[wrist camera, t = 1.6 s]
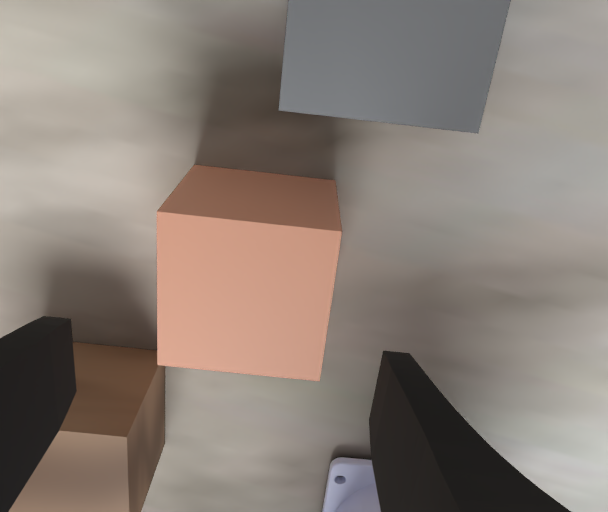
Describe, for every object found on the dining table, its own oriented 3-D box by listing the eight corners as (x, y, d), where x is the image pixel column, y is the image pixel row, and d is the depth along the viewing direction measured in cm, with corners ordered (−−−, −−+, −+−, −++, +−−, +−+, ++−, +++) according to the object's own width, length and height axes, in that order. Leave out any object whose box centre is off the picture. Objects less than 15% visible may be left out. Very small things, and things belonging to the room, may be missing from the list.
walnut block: (165, 442, 24) (130, 541, 20) (53, 431, 24) (-8, 528, 19) (165, 350, 22) (126, 437, 18) (43, 337, 22) (-27, 422, 17)
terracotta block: (318, 301, 21) (319, 381, 17) (191, 288, 21) (157, 364, 16) (335, 179, 19) (342, 231, 14) (194, 164, 19) (156, 211, 14)
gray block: (436, 103, 18) (478, 133, 13) (287, 85, 18) (278, 110, 13) (471, -70, 16) (535, -104, 11) (304, -91, 16) (300, -134, 11)
